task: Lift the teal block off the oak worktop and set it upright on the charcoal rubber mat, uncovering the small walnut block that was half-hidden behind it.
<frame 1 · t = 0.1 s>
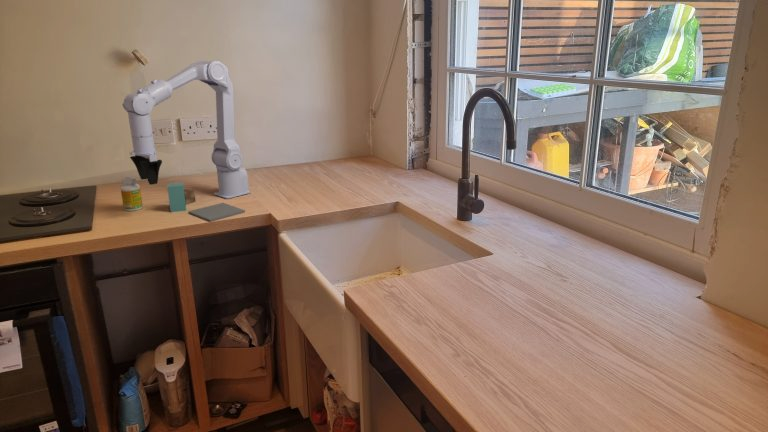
hand: (149, 181, 155), 10 cm above the worktop, fingers open, 7 cm apart
supplement bottle: (133, 209, 162), on the worktop
teal block: (178, 209, 162), on the worktop
slate mat: (217, 212, 159), on the worktop
walnut block: (186, 202, 169), on the worktop
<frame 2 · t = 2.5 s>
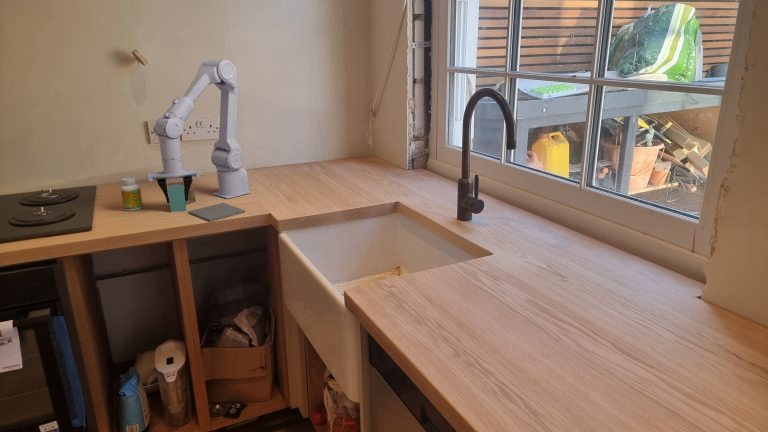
hand: (177, 201, 161), 3 cm above the worktop, fingers closed on teal block, 5 cm apart
teal block: (178, 209, 162), on the worktop, touching gripper
everything else where it was.
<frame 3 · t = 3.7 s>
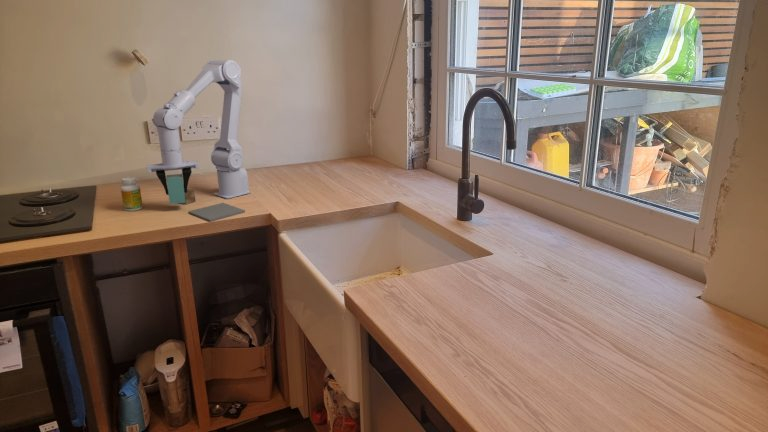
hand: (176, 193, 160), 5 cm above the worktop, fingers closed on teal block, 5 cm apart
teal block: (177, 201, 161), point 3 cm above the worktop, touching gripper
everything else where it was.
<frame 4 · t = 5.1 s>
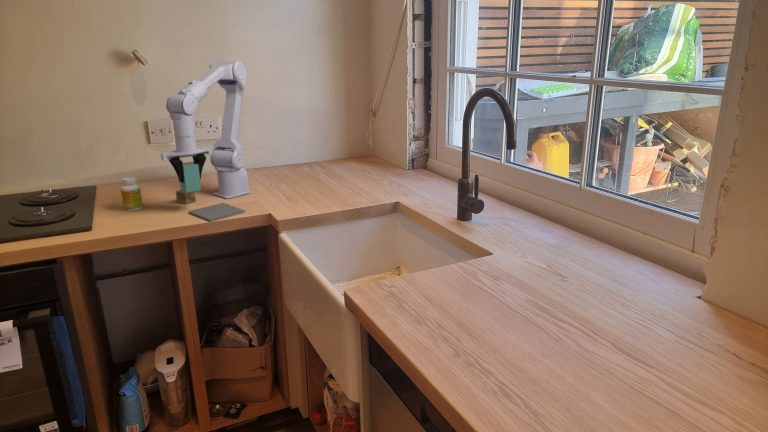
hand: (190, 180, 157), 10 cm above the worktop, fingers closed on teal block, 4 cm apart
teal block: (191, 189, 158), point 7 cm above the worktop, touching gripper
everything else where it was.
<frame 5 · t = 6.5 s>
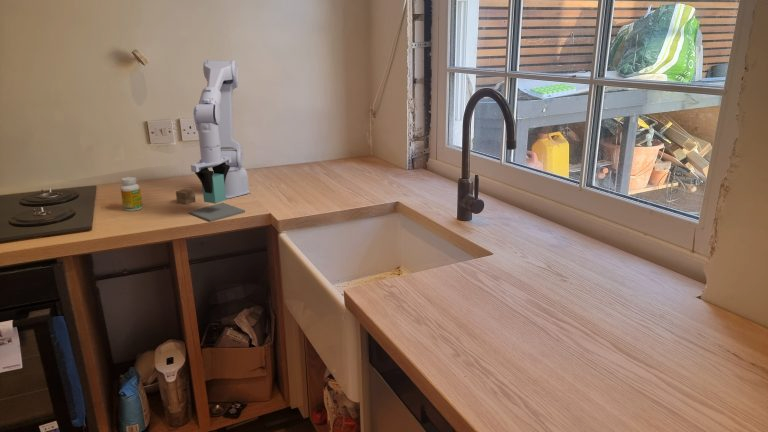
hand: (214, 190, 156), 7 cm above the worktop, fingers closed on teal block, 4 cm apart
teal block: (215, 200, 157), point 4 cm above the worktop, touching gripper
everything else where it was.
when the fingers open (4 cm above the worktop, at t = 7.9 s): teal block stays where it is, resting on slate mat.
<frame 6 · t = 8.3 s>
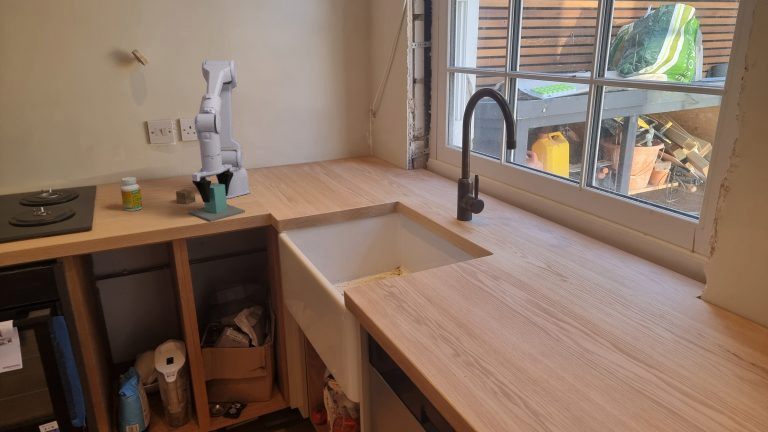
hand: (215, 198, 157), 4 cm above the worktop, fingers open, 7 cm apart
teal block: (216, 210, 158), point 1 cm above the worktop, touching slate mat
everything else where it was.
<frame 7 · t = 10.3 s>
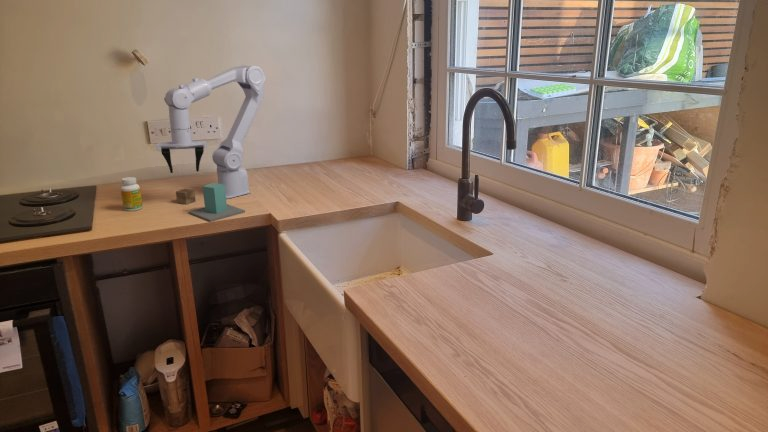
hand: (184, 171, 165), 10 cm above the worktop, fingers open, 7 cm apart
nothing on the worktop moved.
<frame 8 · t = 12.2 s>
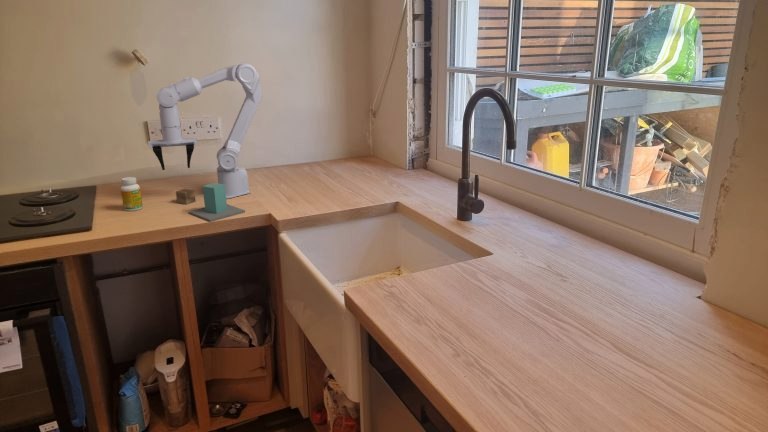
hand: (176, 168, 169), 10 cm above the worktop, fingers open, 7 cm apart
nothing on the worktop moved.
at the end: teal block inside the target area on the slate mat (0.2 cm from its centre), point 0.6 cm above the slate mat's base; teal block tilted 0°; walnut block moved 0.1 cm from its start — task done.
